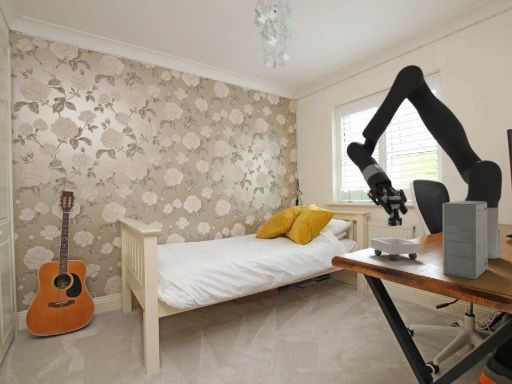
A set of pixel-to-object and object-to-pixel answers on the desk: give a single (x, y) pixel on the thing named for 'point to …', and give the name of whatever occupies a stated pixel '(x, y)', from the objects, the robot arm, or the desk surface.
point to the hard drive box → (465, 238)
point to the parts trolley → (395, 247)
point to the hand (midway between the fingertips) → (398, 213)
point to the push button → (395, 211)
